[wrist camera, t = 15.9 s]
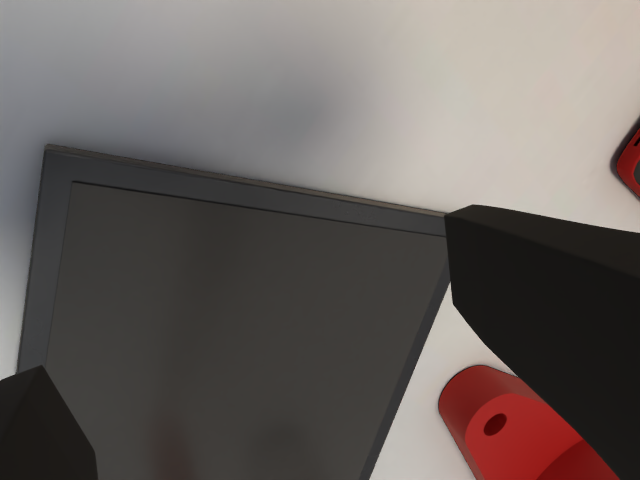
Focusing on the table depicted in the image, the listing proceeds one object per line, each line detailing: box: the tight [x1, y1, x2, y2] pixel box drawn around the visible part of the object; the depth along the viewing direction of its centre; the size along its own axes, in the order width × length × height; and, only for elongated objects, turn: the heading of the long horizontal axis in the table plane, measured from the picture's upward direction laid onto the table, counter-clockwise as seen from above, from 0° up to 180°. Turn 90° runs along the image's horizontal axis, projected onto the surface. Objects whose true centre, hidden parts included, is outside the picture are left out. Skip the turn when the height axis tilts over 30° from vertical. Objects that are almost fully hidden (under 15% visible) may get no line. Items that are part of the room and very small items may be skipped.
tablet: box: [16, 144, 450, 480], centre depth 22 cm, size 16×22×1 cm
